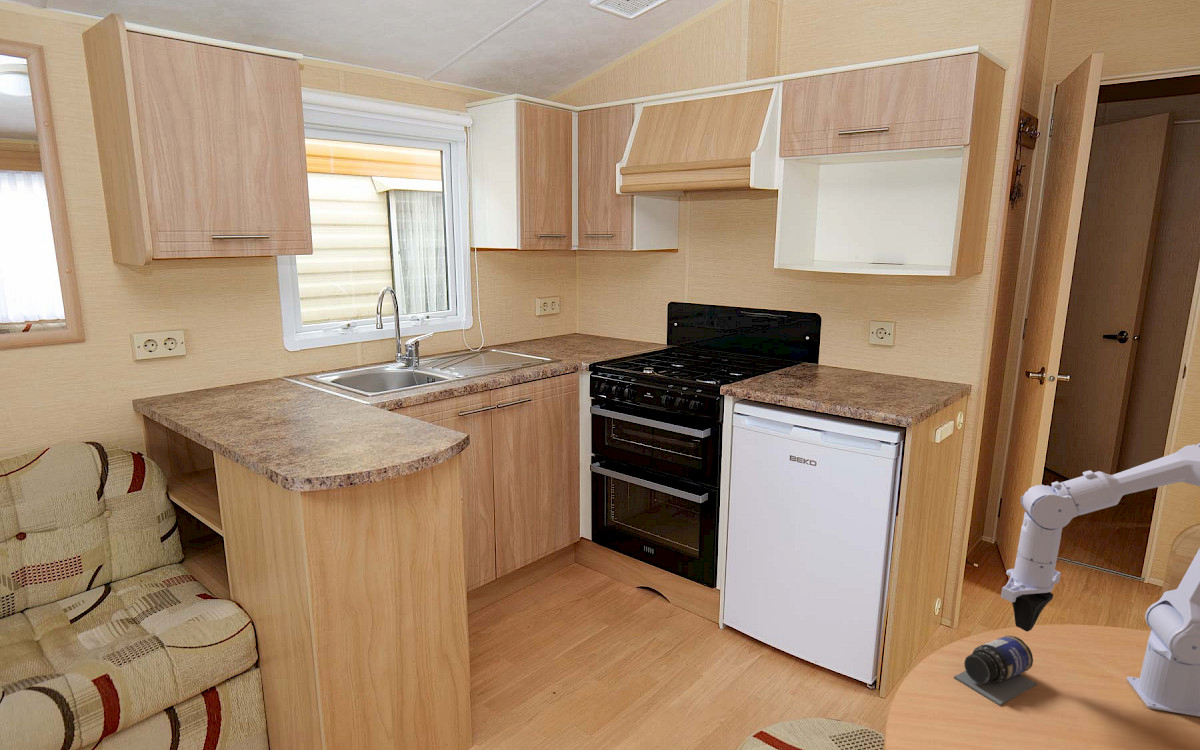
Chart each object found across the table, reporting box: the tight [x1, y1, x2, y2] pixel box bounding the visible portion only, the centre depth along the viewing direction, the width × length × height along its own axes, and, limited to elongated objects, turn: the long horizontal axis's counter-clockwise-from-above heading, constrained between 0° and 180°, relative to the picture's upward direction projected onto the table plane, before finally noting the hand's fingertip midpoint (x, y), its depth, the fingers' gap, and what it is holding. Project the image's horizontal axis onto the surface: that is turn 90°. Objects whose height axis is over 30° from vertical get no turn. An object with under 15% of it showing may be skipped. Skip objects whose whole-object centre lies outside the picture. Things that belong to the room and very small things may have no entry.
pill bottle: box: [963, 635, 1034, 684], centre depth 120 cm, size 6×6×11 cm
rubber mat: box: [953, 670, 1038, 707], centre depth 120 cm, size 11×8×1 cm
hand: (1023, 627), depth 121 cm, fingers closed
